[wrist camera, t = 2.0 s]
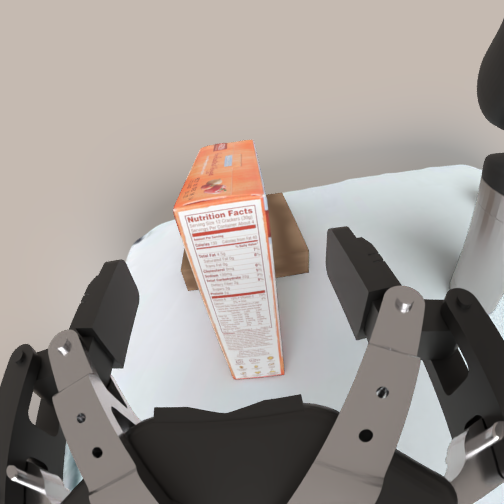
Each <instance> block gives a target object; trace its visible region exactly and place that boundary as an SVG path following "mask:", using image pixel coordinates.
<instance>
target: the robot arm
mask: <svg viewBox="0 0 504 504" xmlns="http://www.w3.org/2000/svg"><path fill="white" fill-rule="evenodd" d="M477 97H478V102H479V105H480V109H481V110H482V113H483V114H484V116H485V117H486V119H487V120H488V121H489V122H490V123H492V124H493V125H495V126H497V127H499V128H500V129H502V130H504V20H503V22H502V24H501V26H500V28H499V30H498V32H497V34H496V36H495V38H494V39H493V41H492V43H491V45H490V47H489V48H488V51H487V52H486V54H485V56H484V58H483V61H482V63H481V66H480V70H479V74H478V81H477ZM326 270H327V274H328V277H329V279H330V281H331V284H332V286H333V288H334V290H335V292H336V295H337V297H338V299H339V301H340V303H341V306H342V308H343V310H344V313H345V315H346V317H347V319H348V322H349V324H350V326H351V329H352V331H353V333H354V336H355V338H356V340H360V339H364V338H367V340H368V343H369V344H368V346H367V349H366V352H365V354H364V357H363V360H362V362H361V365H360V367H359V370H358V372H357V375H356V377H355V380H354V382H353V384H352V387H351V389H350V391H349V394H348V396H347V398H346V400H345V403H344V405H343V407H342V409H341V411H340V412H338V411H336V410H334V409H331V408H329V407H326V406H322V405H317V404H311V403H303V401H302V397H301V394H300V395H294V396H289V397H283V398H277V399H270V400H263V401H261V402H258V403H255V404H253V405H250V406H247V407H244V408H241V409H238V410H235V411H232V412H229V413H217V412H211V411H206V410H200V409H195V408H190V407H154V417H151V418H149V419H146V420H143V421H141V420H140V419H139V418H138V417H137V416H136V415H135V413H134V412H133V410H132V409H131V407H130V405H129V404H128V402H127V400H126V399H125V397H124V395H123V393H122V392H121V390H120V388H119V386H118V385H117V383H116V381H115V379H114V377H113V376H112V375H111V371H112V368H123V367H124V362H125V357H126V353H127V348H128V344H129V340H130V336H131V332H132V328H133V324H134V320H135V316H136V312H137V308H138V305H139V292H138V289H137V286H136V284H135V282H134V280H133V278H132V276H131V273H130V271H129V269H128V267H127V265H126V263H125V261H124V260H115V261H110V262H105V263H104V265H103V267H102V269H101V271H100V273H99V275H98V276H96V277H95V278H94V279H93V281H92V282H91V283H90V284H89V285H88V287H87V289H86V292H85V296H83V298H82V300H81V304H80V305H79V307H78V309H77V312H76V314H75V316H74V318H73V321H72V323H71V326H70V328H69V330H64V331H62V332H60V333H58V334H57V335H56V336H55V337H54V338H53V340H52V341H51V343H50V345H49V348H48V349H46V350H43V351H40V352H37V353H36V352H35V350H34V349H33V348H32V347H31V346H30V345H28V344H23V345H21V346H19V347H18V348H17V349H16V350H15V351H14V352H13V353H12V355H11V357H10V360H9V362H8V365H7V369H6V371H5V374H4V377H3V380H2V383H1V386H0V504H473V503H474V502H476V501H478V500H479V499H481V498H482V497H484V496H485V495H486V494H488V493H489V492H491V491H492V490H493V489H495V488H496V487H498V486H499V485H500V484H502V483H504V340H503V338H502V337H501V335H500V333H499V332H498V330H497V328H496V327H495V325H494V324H493V322H492V320H491V319H490V317H489V316H488V314H490V313H492V312H493V311H494V310H495V308H496V306H497V305H498V303H499V301H500V299H501V297H502V296H503V294H504V153H496V154H490V155H488V156H487V157H486V159H485V161H484V165H483V170H482V176H481V181H480V186H479V191H478V195H477V200H476V204H475V208H474V212H473V216H472V219H471V223H470V227H469V230H468V233H467V237H466V240H465V243H464V246H463V249H462V252H461V255H460V258H459V260H458V263H457V266H456V269H455V271H454V274H453V276H452V279H451V281H450V290H449V291H448V292H447V294H446V296H445V299H444V300H427V299H423V297H422V296H421V294H420V293H419V292H417V291H416V290H414V289H412V288H410V287H407V286H402V285H401V284H400V282H399V281H398V279H397V278H396V277H395V275H394V274H393V272H392V271H391V269H390V268H389V267H388V265H387V264H386V262H385V261H383V258H382V257H381V256H380V254H378V251H377V250H376V249H375V247H374V246H373V245H372V244H371V243H370V242H368V241H367V240H365V239H364V238H362V237H360V238H356V237H355V235H354V234H353V233H352V231H351V230H350V228H349V227H347V226H346V227H338V228H331V229H328V232H327V247H326ZM458 346H459V348H460V350H461V352H462V354H463V356H464V358H465V360H466V362H467V364H468V369H467V367H466V365H465V362H464V360H463V358H462V356H461V354H460V352H459V350H458ZM420 360H423V362H424V365H425V367H426V369H427V372H428V374H429V377H430V379H431V382H432V384H433V387H434V389H435V392H436V394H437V397H438V400H439V402H440V405H441V408H442V410H443V413H444V416H445V419H446V422H447V425H448V428H449V431H450V434H451V437H452V441H451V443H450V444H449V446H448V449H447V456H446V459H445V462H446V464H447V470H446V473H445V475H444V476H442V475H440V474H438V473H436V472H435V471H433V470H431V469H429V468H427V467H426V466H424V465H422V464H420V463H419V462H417V461H415V460H414V459H412V458H410V457H408V456H407V455H405V454H403V453H402V452H400V451H399V450H397V449H396V446H397V444H398V441H399V438H400V435H401V432H402V429H403V426H404V423H405V420H406V417H407V414H408V410H409V407H410V404H411V400H412V396H413V392H414V389H415V385H416V380H417V376H418V372H419V367H420ZM468 370H469V371H468ZM33 392H34V393H36V394H37V395H38V396H39V397H40V398H41V401H40V406H39V410H38V415H37V420H36V425H34V424H32V423H31V421H30V419H29V416H28V409H29V405H30V401H31V397H32V393H33ZM66 441H67V444H68V446H69V448H70V451H71V453H72V455H73V458H74V460H75V462H76V464H77V466H78V469H79V471H80V473H81V475H82V477H83V480H82V481H81V482H80V483H79V484H78V485H77V486H76V487H75V488H74V489H73V490H72V491H71V492H70V490H69V489H68V488H65V486H64V484H63V467H64V455H65V445H66Z"/></svg>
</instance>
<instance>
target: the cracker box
mask: <svg viewBox="0 0 504 504" xmlns="http://www.w3.org/2000/svg"><path fill="white" fill-rule="evenodd" d="M173 213H174V217H175V220H176V223H177V226H178V229H179V232H180V235H181V238H182V241H183V244H184V248H185V251H186V254H187V257H188V260H189V262H190V265H191V268H192V271H193V274H194V277H195V280H196V282H197V285H198V288H199V291H200V294H201V296H202V299H203V302H204V305H205V307H206V310H207V313H208V316H209V318H210V321H211V324H212V326H213V329H214V331H215V334H216V336H217V339H218V342H219V344H220V347H221V349H222V352H223V354H224V357H225V359H226V361H227V364H228V366H229V368H230V371H231V374H232V376H233V378H234V379H248V378H259V377H268V376H276V375H284V363H283V352H282V342H281V332H280V321H279V310H278V299H277V289H276V279H275V269H274V259H273V249H272V239H271V229H270V219H269V210H268V204H267V197H266V193H265V187H264V183H263V178H262V174H261V169H260V165H259V161H258V157H257V152H256V148H255V144H254V140H244V141H239V142H231V143H222V144H215V145H210V146H206V147H203V148H201V149H200V151H199V153H198V155H197V157H196V159H195V162H194V164H193V166H192V168H191V170H190V173H189V175H188V177H187V179H186V182H185V184H184V186H183V188H182V190H181V192H180V194H179V197H178V199H177V201H176V203H175V206H174V208H173Z"/></svg>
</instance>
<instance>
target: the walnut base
mask: <svg viewBox="0 0 504 504" xmlns="http://www.w3.org/2000/svg"><path fill="white" fill-rule="evenodd" d="M266 197H267V204H268V210H269V219H270V229H271V239H272V249H273V259H274V269H275V278H278V277H284V276H290V275H296V274H302V273H308V272H309V250H308V248H307V245H306V243H305V241H304V239H303V237H302V234H301V232H300V230H299V228H298V226H297V223H296V221H295V219H294V217H293V215H292V213H291V211H290V208H289V206H288V204H287V202H286V200H285V198H284V196H283V194H282V193H276V194H270V195H266ZM181 272H182V275H183V278H184V281H185V283H186V286H187V289H188V291H191V290H198V289H199V288H198V285H197V282H196V280H195V277H194V274H193V271H192V268H191V265H190V262H189V260H188V257H187V254H186V251H185V248H184V254H183V260H182V266H181Z"/></svg>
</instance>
